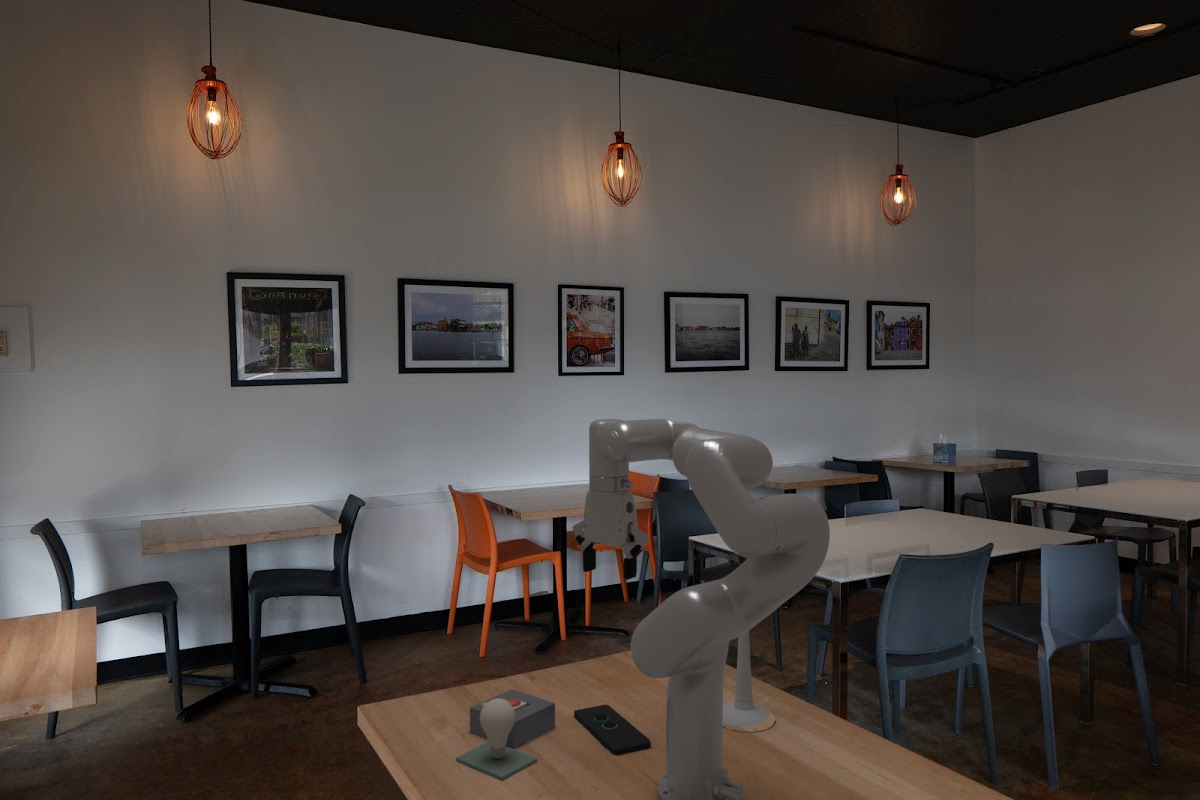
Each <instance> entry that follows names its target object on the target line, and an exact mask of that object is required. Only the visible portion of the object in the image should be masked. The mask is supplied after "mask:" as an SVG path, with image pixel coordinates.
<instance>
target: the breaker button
mask: <svg viewBox="0 0 1200 800" xmlns="http://www.w3.org/2000/svg"><path fill="white" fill-rule="evenodd" d="M506 701H508V702H509V703H510V704H511V705H512V707H513V708H514V711H517V710H519V709H522V708H524V707H526V706H527V703H525V702H522V701H521V700H520V699H519V698H508V699H506Z"/></svg>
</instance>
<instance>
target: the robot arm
mask: <svg viewBox="0 0 1200 800" xmlns="http://www.w3.org/2000/svg"><path fill="white" fill-rule="evenodd" d="M588 445H589V446H588V448H589V449H588V457H589V458H588V459H589V460H588V464H589V465H588V467H589V469H588V470H589V471H588V476H589V483H588V485H589V490H587V492H586V496H585V503H584V510H583V520H581V521H580V522H578V523H576V524H574V525H573V526H572V532H573V533H574V536H575V540H576V542H577V543H578V545H579V549H580V551H581V552H582V570H583V572H585V573H588V572H592V571H594V570H596V568H597V548H595V545H597V544H598V545H604V546H609V547H615V548H620V549H621V550H622V552H623V555H625V558H623V579H624V580H627V581H628V580H632V579H634V578H636V577H637V572H638V557H639V556H640V555H641V553H642V552H643V551H644V550H645V548H646V547H645V546H646V545H647V542H648V540H649V535H648V534H647V533H646V532H644V531H643V530H641V529H640V528H639V527H638V526H639V525H638V515H637V507H636V502H635V501H636V500H635V498H634V494H633V493H634V492H632V491H630V488H631V489H632V488H633V486H634V482H633V480H630V463H637V462H643V461H645V462H646V461H654V460H655V461H657V460H668V461H672V462H673V465H674V467H675V469H676V470H677V472H679V474H680V475H682V476H684V477H686V479H687V482H688V485H689V486H690V489H691V490H692V492H693V494H694V495H695V497H696V499H697V501H698V502H699V505H700V506H701V507H702V509H703V511H704V512H705V514H706V515H707V517H708V518H709V520H710V522H711V523H712V525H713V526H714V528H715V530H716V532H717V533H718V535H719V537H720V538H721V540H722V541H723V543H725V545H726V546H727V547H728V548H729V549H730V551H732V552H733V553H734V554H735V555H738V556H739V557H743V558H747V559H745V561H743V562H742V563H741V564H740V565H739V566H738V567H737V568H735V569H734V570H733V571H731V573H729V574H727V575H726V576H724V577H721V578H719V579H715V580H711V581H707V582H703V583H699V584H696V585H690V586H687V587H685V588H681V589H679V590H678V591H676V592H673V594H671V595H669V596H668V597H667V598H666V599H665V600H664V601H663V602H662V603H660V604H659V605H658V606H657V607H655V609H654V610H652V611H651V612H650V613H649V614H647V616H646V617H644V618H643V619H642V620H641V621H640V622H639V623H638V625H637V626H636V628H634V631H633V634H632V636H631V640H630V655H631V658H632V661H633V663H634V665H635V667H636V668H637V670H639V671H640V672H641V673H642V674H644V675H645V676H647V677H650V678H653V679H664V678H668V682H667V686H666V774H664V775H663V776H662V777H660V779H659V780H658V782H657V795H658V797H659V798H660V799H661V800H742V797H743V796H742V795H743V793H742V792H743V791H742V789H743V785H742V783H739V782H736V781H732V780H731V779H730V778H729V769H728V768H726V767H724V764H723V763H724V762H723V760H724V757H723V753H724V752H723V751H724V747H723V746H724V743H723V740H724V739H723V737H724V736H723V735H724V734H723V731H724V728H723V704H724V679H725V677H724V676H725V669H726V664H727V663H726V662H727V658H728V653H729V647H730V641H733V640H736V639H739V637H741V636H742V635H744V634H745V633H747V632H748V631H749V632H750V630H752V629H753V628H754V627H755V626H756V625H758V624H759V623H760V622H761V621H763V620H765V619H766V618H767V617H768V616H770V615H771V614H773V613H774V612H775V611H776V610H777V609H778V608H780V607H781V606H782V605H783V604H785V603H786V602H787V601H788V600H790V599H791V598H792V597H793V596H795V595H796V594H797V593H799V592H800V591H801V590H803V588H805V587H806V586H807V585H808V583H810V582H811V581H812V580H813V578H814V577H815V576H816V575H817V574H818V572H819V571H820V569H821V567H822V566H823V564H824V562H825V559H826V557H827V554H828V551H829V546H830V539H831V538H830V537H831V535H830V533H831V532H830V523H829V519H828V515H827V513H826V511H825V509H824V508H823V506H822V505H821V504H820V503H819V502H818V501H817V500H815V499H814V498H812V497H810V496H807V495H805V494H799V493H798V494H797V493H782V494H775V495H774V494H773V495H768V496H759V497H752V496H751V494H750V493H749V491H748V490H752V489H755V488H757V487H759V486H760V485H761V486H762V484H764V483H765V482H766V481H767V479H769V477H770V475H771V474H772V470H773V455H772V454H771V453H772V452H771V451H770V450H769V448H768V447H767V446H766V445H765V443H763V442H762V441H760V440H758V439H757V438H754V437H750V436H747V435H741V434H735V433H731V432H725V431H719V430H713V429H712V430H711V429H707V428H701V427H698V425H696V424H694V423H690V422H684V421H679V420H672V419H666V418H665V419H664V418H654V419H653V418H652V419H651V418H648V419H637V420H635V419H633V420H623V419H617V418H615V419H614V418H613V419H612V418H610V419H609V418H604V419H603V418H602V419H601V418H600V419H594V420H593V421H591V422H590V425H589V427H588Z"/></svg>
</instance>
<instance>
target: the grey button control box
mask: <svg viewBox="0 0 1200 800" xmlns="http://www.w3.org/2000/svg"><path fill="white" fill-rule="evenodd" d="M497 698H501V699H504V700H506V699H508V698H519V699H520V700H521V701H522V702H525V703H527V706H526V707H524V708H522V709H519V710H517V711H515V721H514V725H513V727H512V729H511V731H510V733H509V735H508V737H507V744H506V745H505V746H506V747H509V748H512V749H514V750H515V749H516V748H518V747H520V746H522V745H523V744H526V743H528V742H529V741H532V740H534V739H536V738H538V737H540V736H541V735H544V734H546V733H547V732H549V731H551V730H553V729H555V728H556V703H555V702H553V701H550V700H546V699H543V698H541V697H538V696H534V695H531V694H528V693H525V692H523V691H519V690H515V689H513V688H512V689H510V690H509V689H508V690H507V691H504V692H502V693H500V694H497V695H496V696H493V697H491V698H489V699H485V700H484V701H481V702H479V703H477V704H475V705H472V706H470V707H469V732H470V733H471V732H472V734H474V735H476V734H477V735H476V736H478V737H481V738H484V739H486V738H487V740H488V737H487V735H486V733H485V731H484V730H483V728H482V726H481V723H480V713H481V710H482V708H483V707H484V705H485V704H486V703H487V702H489V701H491V700H492V699H497Z"/></svg>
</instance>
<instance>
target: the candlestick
mask: <svg viewBox="0 0 1200 800" xmlns="http://www.w3.org/2000/svg"><path fill="white" fill-rule="evenodd" d="M737 639H738V642H737V643H738V644H737V657H736V658H737V660H736V661H737V663H736V678H735V679H736V681H735V695H734V697H735V698H734V701H730V702H726V703H723V724H727V725H730V726H735V727H736V726H739V727H746V726H752V725H757V724H759V723H761V722H763V721H765V720H766V719H767V718H768V717H769V716H770V712H769V711H768V710H769V708H767V707H765V706H764V705H761V704H758V703H755V702H754V701H753V690H752V687H753V685H752V668H751V664H752V663H751V649H750V630H749V631H748V632H747V633H745V634H744V635H742V636H741V637H738V638H737Z"/></svg>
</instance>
